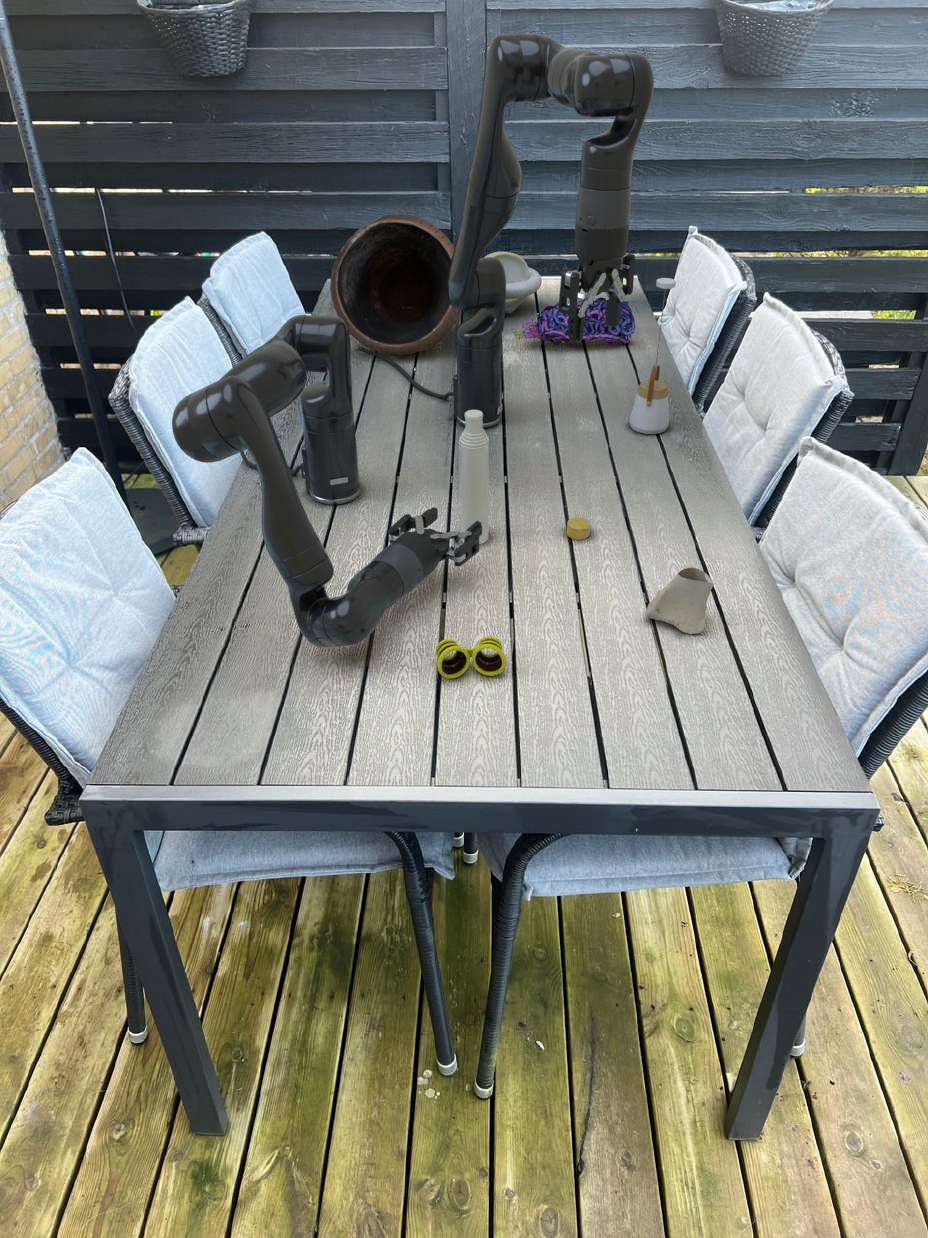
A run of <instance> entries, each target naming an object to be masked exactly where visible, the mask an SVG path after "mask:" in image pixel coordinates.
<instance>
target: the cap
mask: <svg viewBox="0 0 928 1238" xmlns="http://www.w3.org/2000/svg"><path fill="white" fill-rule="evenodd" d="M590 533H591V521H590V520H589V519H587V518H585V517H580V516H576V517H572V518H569V519H568V520H567V523H566V536H567V537H568V538H570V539H572V540H577V541H578V540H579V541H580V540H585V539H587V538H588V537H589V536H590Z"/></svg>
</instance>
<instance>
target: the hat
mask: <svg viewBox="0 0 928 1238" xmlns="http://www.w3.org/2000/svg"><path fill="white" fill-rule="evenodd" d="M486 257H495V258H497V259H499V260H500V261H501V263H502V265H503V267H504V270H505V275H506V302H505V314H512V313H514V311H516V309H517V308H518V307H519V306H520V305H522V303H524V302H525V301H526V300H527V299H528V297H529V296H531V295H533V294H535V293H536V292H538V291H539V290H540V288H541V286H542V282H543V280H542V276H541V274H539V273H540V272H538V271H537V270H535V269H533V268H532V267H529V266H528V264H527V262H526V260H525V259H524V258H523V257H522V256H520V255H519V254H517V253H514V252H509V251H496V252H495V251H494V252H491V253H488V254H486V256H484V257H483V258H486Z"/></svg>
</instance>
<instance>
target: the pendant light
mask: <svg viewBox="0 0 928 1238" xmlns="http://www.w3.org/2000/svg"><path fill="white" fill-rule="evenodd" d="M676 283H677V280H675V279H673V278H671V277H660V278H657V279H656V281H655V286H656V287H657V288H660V289H663V290H664V293H663V301H662V309H661V318H660V326H659V333H658V334H659V335H658V342H657V350H656V358H655V364H654V365H653V367H652V370H651V372H650V377H649V379H646V380H643V381H641V382H639V383H640V384H639V386H638V389H637V391H636V395H635V399H634V402H633V406H632V410H631V412H630V417H629V419H628V421H629V426H630V428H631V429H632V430H633V431H635V432H637V433H641V434H644V435H657V434H662V433H664V432H666V430H668V428H669V425H670V413H669V412H670V410H669V409H670V408H669V389H668V385H667V383H665V382H664V381H661V380H660V371H661V368H660V365H658V364H657V363H658V355H659V348H660V339H661V331H662V323H663V313H664V307H665V300H666V299H665V298H666V290H668V289H669V290H671V289H674V288H675V287H676V285H677V284H676Z"/></svg>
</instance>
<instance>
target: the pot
mask: <svg viewBox="0 0 928 1238" xmlns="http://www.w3.org/2000/svg"><path fill="white" fill-rule="evenodd" d="M454 249H455V245H454V244H453V243H452V242H451V240H450V239H449V237H448V236H447V235H446V234H445V233H443V231H442V230H441V229H440V228H439V227H437V226H436V225H434V224H433V223H431V222H429V221H427V220H425V219H423V218H420V217H419V216H414V215H411V214H405V213H402V214H401V213H397V214H393V213H392V214H388V215H382V216H379V217H378V218H375V219H373V220H372V221H369V222H367V223H366V224H365V225H364V224H363V226H361V227H360V228H358V230H356V231H355V232H354V233H353V234H352V235H351V236H349V238H348V239H347V240H346V242H345V244H344V245H343V246H342V247H341V249H340V252H339V253H338V255H337V257H336V258H335V260H334V263H333V265H332V267H331V274H330V282H329V283H330V284H329V286H330V287H329V290H330V297H331V301H332V304H333V308H334V310H335V313H336V315H337V317H341V318H343V319H344V320H345V322H346V323H347V326H348V329H349V335H350V337H352V338H353V339H355V340H356V341H357V342H358V343H360V344H361V345H362V346H363V347H364V348H365V347H366V349H369V350H371V351H374V352H376V353H379V354H382V355H390V356H405V355H411V354H417V353H419V352H423V351H426V350H428V349H430V348H432V347H433V346H434V345H436V344H437V343H439V342H440V341H441V340H442V339H443V338H444V337H445V336H446V335H447V334H448V333H449V332H450V330H451V329H452V328H453V327H454V325H455V323H456V321H457V319H458V316H459V314H460V311H459V310H456V309H455V308H453V307H452V305H451V304H450V302H449V299H448V295H447V277H448V271H449V267H450V263H451V259H452V256H453V253H454Z"/></svg>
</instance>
